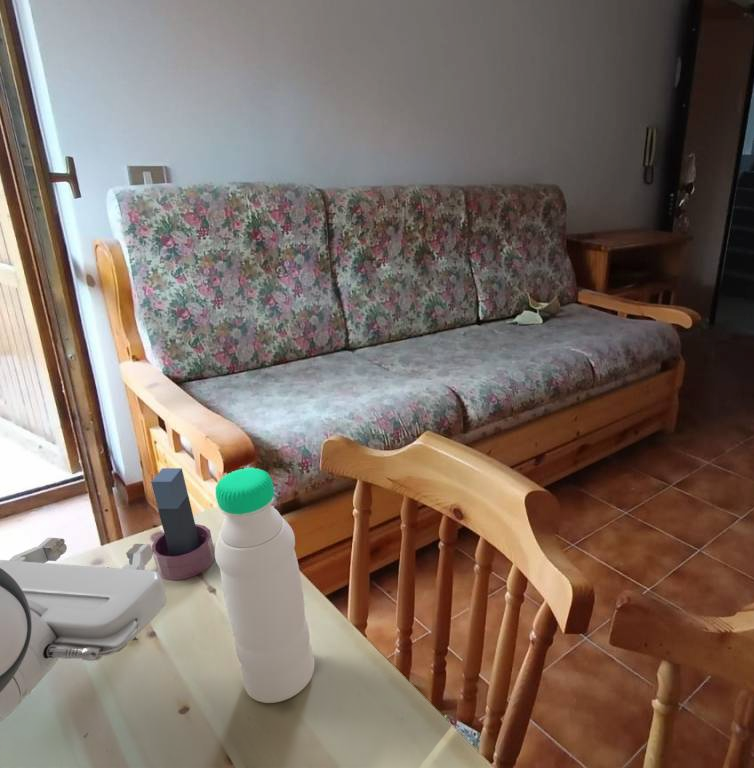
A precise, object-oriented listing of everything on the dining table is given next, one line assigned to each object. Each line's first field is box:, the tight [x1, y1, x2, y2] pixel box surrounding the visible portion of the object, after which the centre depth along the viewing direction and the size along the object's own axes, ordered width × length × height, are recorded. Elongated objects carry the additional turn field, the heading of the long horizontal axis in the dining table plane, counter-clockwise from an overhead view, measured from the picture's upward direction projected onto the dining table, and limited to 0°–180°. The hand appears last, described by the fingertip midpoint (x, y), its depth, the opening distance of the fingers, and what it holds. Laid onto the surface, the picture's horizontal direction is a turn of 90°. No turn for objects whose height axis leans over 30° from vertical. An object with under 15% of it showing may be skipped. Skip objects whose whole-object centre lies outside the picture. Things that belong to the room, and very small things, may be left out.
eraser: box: [150, 467, 200, 556], centre depth 79 cm, size 2×3×13 cm
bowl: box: [151, 523, 216, 581], centre depth 82 cm, size 7×7×4 cm
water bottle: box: [214, 467, 315, 704], centre depth 61 cm, size 7×7×25 cm
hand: (102, 545), depth 66 cm, fingers open, 8 cm apart
